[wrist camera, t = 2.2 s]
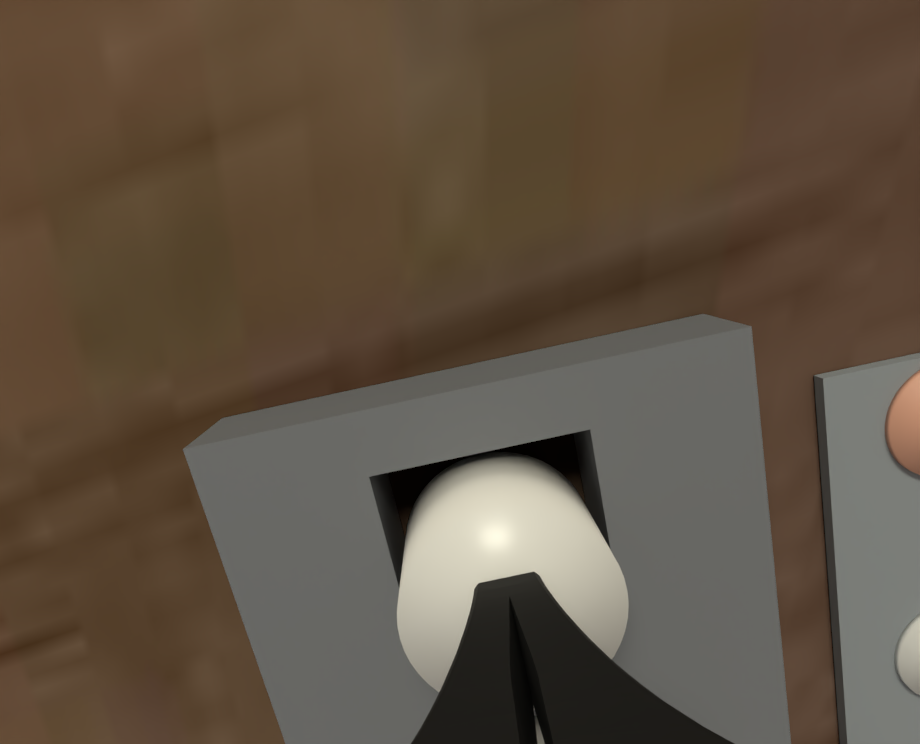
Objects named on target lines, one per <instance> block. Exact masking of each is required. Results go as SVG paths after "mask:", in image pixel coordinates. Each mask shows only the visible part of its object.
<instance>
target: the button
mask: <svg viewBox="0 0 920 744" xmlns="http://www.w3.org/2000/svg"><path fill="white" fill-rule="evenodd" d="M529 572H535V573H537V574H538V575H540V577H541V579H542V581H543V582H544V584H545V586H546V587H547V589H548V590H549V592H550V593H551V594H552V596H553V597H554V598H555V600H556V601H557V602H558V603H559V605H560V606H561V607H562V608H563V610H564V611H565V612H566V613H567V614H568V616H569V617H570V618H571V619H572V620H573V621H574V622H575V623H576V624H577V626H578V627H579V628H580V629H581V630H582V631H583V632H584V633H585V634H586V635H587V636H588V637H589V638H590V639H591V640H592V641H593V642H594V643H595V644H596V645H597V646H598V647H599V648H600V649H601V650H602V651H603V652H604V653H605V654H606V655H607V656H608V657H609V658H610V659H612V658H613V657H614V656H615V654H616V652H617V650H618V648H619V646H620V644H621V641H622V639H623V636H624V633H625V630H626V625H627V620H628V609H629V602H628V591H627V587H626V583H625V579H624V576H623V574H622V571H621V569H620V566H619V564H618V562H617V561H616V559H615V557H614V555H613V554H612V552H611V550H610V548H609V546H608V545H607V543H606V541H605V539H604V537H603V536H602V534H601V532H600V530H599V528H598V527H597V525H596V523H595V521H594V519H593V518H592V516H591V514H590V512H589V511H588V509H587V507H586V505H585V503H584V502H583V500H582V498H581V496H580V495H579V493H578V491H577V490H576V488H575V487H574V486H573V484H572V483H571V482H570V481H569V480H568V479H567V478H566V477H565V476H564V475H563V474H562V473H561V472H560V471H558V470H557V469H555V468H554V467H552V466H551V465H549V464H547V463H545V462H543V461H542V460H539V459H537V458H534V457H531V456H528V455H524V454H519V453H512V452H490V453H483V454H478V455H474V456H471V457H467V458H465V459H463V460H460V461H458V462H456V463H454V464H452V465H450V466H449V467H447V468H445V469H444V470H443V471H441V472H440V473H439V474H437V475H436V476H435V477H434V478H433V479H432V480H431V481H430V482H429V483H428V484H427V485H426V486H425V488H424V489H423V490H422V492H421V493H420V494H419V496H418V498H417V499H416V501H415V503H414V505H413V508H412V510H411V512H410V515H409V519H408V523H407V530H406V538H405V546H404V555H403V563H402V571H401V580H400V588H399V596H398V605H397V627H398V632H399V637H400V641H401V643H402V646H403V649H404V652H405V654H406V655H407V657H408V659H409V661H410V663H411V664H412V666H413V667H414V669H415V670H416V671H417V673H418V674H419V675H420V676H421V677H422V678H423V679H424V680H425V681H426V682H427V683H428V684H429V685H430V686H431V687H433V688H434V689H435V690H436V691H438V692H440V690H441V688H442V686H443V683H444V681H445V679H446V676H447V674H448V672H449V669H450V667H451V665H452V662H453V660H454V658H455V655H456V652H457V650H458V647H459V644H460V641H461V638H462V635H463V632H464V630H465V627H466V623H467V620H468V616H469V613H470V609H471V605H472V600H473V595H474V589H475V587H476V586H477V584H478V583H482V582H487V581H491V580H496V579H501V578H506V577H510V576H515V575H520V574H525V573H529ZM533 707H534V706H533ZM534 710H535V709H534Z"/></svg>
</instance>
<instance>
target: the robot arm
mask: <svg viewBox="0 0 920 744" xmlns="http://www.w3.org/2000/svg"><path fill="white" fill-rule="evenodd" d="M533 706H534V707H533ZM534 709H535V713H536V716H537V719H538V723H539V726H540V729H541V733H542V736H543V739H544V743H545V744H734V743H732V742H731V741H729V740H727V739H725V738H723V737H721V736H720V735H718V734H716V733H714V732H712V731H711V730H709V729H707V728H705V727H704V726H702V725H700V724H699V723H697V722H696V721H694V720H693V719H691V718H689V717H688V716H686V715H685V714H683V713H682V712H680V711H679V710H677V709H675V708H674V707H672V706H671V705H669V704H668V703H666V702H665V701H663V700H662V699H660V698H659V697H658V696H656V695H655V694H654V693H652V692H651V691H650V690H648V689H647V688H646V687H644V686H643V685H642V684H640V683H639V682H638V681H637V680H635V679H634V678H633V677H632V676H630V675H629V674H628V673H627V672H625V671H624V670H623V669H622V668H621V667H620V666H618V665H617V664H616V663H615V662H614V661H613V660H612V659H610V658H609V657H608V656H607V655H606V654H605V653H604V652H603V651H602V650H601V649H600V648H599V647H598V646H597V645H596V644H595V643H594V642H593V641H592V640H591V639H590V638H589V637H588V636H587V635H586V634H585V633H584V632H583V631H582V630H581V629H580V628H579V627H578V626H577V624H576V623H575V622H574V621H573V620H572V619H571V618H570V617H569V616H568V614H567V613H566V612H565V611H564V610H563V608H562V607H561V606H560V605H559V603H558V602H557V601H556V600H555V598H554V597H553V596H552V594H551V593H550V592H549V590H548V589H547V587H546V586H545V584H544V582H543V581H542V579H541V577H540V575H538V574H537V573H535V572H529V573H525V574H520V575H515V576H510V577H506V578H501V579H496V580H491V581H487V582H482V583H478V584H477V586H476V587H475V589H474V595H473V600H472V605H471V609H470V613H469V616H468V620H467V623H466V627H465V630H464V632H463V635H462V638H461V641H460V644H459V647H458V650H457V652H456V655H455V658H454V660H453V662H452V665H451V667H450V669H449V672H448V674H447V676H446V679H445V681H444V683H443V686H442V688H441V690H440V692H439V694H438V696H437V698H436V700H435V702H434V704H433V706H432V708H431V710H430V712H429V714H428V715H427V717H426V719H425V721H424V723H423V724H422V726H421V728H420V730H419V731H418V733H417V735H416V736H415V738H414V739H413V741H412V743H411V744H537V735H536V725H535V716H534Z"/></svg>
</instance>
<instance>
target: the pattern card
mask: <svg viewBox="0 0 920 744" xmlns="http://www.w3.org/2000/svg"><path fill="white" fill-rule="evenodd" d="M814 385H815V399H816V413H817V427H818V442H819V456H820V470H821V484H822V498H823V512H824V527H825V541H826V555H827V569H828V583H829V597H830V611H831V626H832V640H833V654H834V668H835V682H836V696H837V711H838V725H839V739H840V744H920V353H916V354H912V355H907V356H902V357H898V358H893V359H888V360H884V361H879V362H874V363H870V364H865V365H860V366H856V367H851V368H846V369H842V370H837V371H832V372H828V373H823V374H818V375H814Z"/></svg>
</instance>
